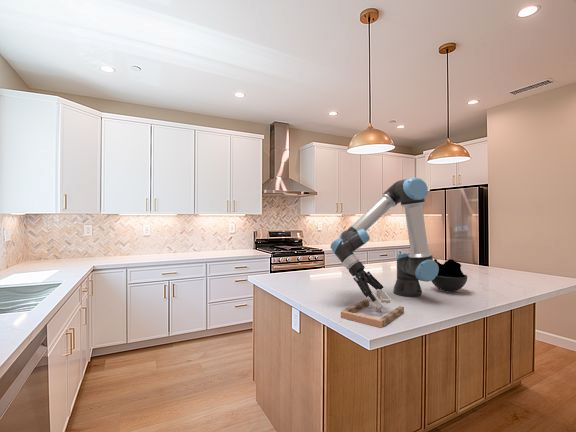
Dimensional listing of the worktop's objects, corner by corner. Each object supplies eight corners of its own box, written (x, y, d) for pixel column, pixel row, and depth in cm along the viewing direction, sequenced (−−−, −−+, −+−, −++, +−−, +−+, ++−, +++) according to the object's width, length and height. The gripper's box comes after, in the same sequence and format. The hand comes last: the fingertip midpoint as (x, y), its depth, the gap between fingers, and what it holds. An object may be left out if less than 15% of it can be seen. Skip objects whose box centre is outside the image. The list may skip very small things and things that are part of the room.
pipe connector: (391, 315, 130) (391, 293, 131) (368, 313, 132) (368, 291, 132) (388, 308, 140) (388, 287, 140) (366, 307, 142) (367, 286, 142)
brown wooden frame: (365, 304, 147) (365, 299, 147) (403, 312, 135) (403, 307, 135) (342, 316, 130) (342, 310, 130) (384, 326, 117) (384, 320, 117)
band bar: (343, 316, 129) (343, 310, 129) (382, 326, 118) (382, 320, 118) (340, 317, 128) (340, 311, 128) (380, 327, 116) (380, 321, 116)
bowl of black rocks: (471, 291, 174) (471, 259, 174) (461, 297, 160) (461, 263, 160) (435, 285, 189) (436, 256, 189) (423, 291, 174) (423, 259, 175)
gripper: (359, 267, 155) (388, 303, 144) (337, 273, 138) (369, 314, 128) (368, 258, 151) (399, 294, 141) (347, 263, 135) (381, 304, 124)
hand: (385, 304), depth 134 cm, fingers closed on pipe connector, 9 cm apart
